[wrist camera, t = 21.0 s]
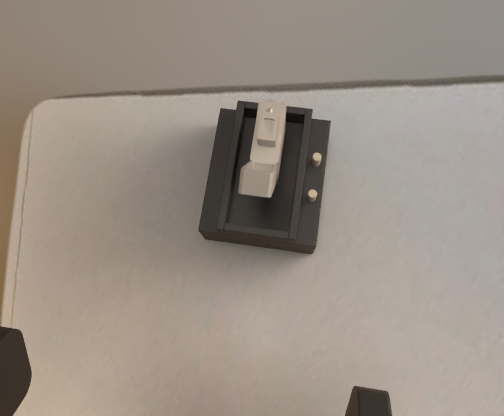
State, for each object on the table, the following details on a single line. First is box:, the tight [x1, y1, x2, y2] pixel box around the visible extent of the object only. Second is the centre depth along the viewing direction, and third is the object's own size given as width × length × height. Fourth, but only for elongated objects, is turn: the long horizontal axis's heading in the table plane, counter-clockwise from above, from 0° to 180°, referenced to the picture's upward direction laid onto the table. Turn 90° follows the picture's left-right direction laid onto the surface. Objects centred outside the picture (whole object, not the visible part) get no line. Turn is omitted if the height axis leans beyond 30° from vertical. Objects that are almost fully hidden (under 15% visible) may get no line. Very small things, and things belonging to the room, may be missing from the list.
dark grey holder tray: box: [199, 101, 331, 254], centre depth 33 cm, size 8×9×4 cm
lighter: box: [238, 100, 286, 197], centre depth 29 cm, size 7×2×8 cm, turn 172°
